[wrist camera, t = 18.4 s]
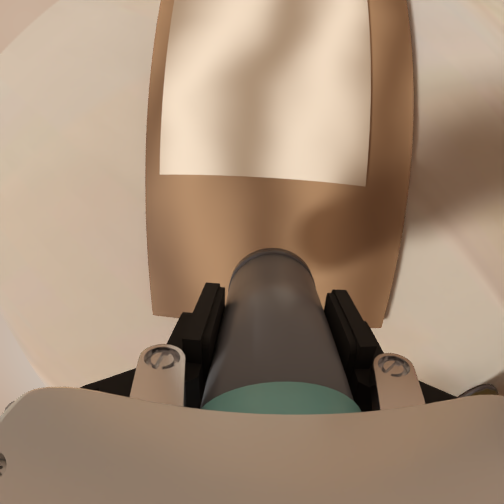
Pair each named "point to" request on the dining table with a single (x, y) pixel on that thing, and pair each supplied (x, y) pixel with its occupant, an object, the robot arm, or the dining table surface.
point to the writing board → (278, 144)
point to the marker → (276, 344)
